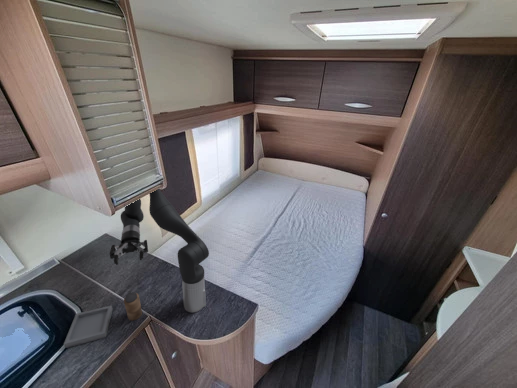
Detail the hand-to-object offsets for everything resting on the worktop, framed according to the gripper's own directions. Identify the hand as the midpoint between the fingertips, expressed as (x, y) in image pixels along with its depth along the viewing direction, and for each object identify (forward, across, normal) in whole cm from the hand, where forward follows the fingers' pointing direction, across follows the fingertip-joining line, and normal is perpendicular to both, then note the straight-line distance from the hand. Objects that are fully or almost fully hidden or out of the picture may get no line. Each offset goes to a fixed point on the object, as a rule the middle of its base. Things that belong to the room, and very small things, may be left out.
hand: (129, 261), depth 86 cm
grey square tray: (+11, -14, +21) cm, 28 cm away
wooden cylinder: (+11, 0, +20) cm, 23 cm away
